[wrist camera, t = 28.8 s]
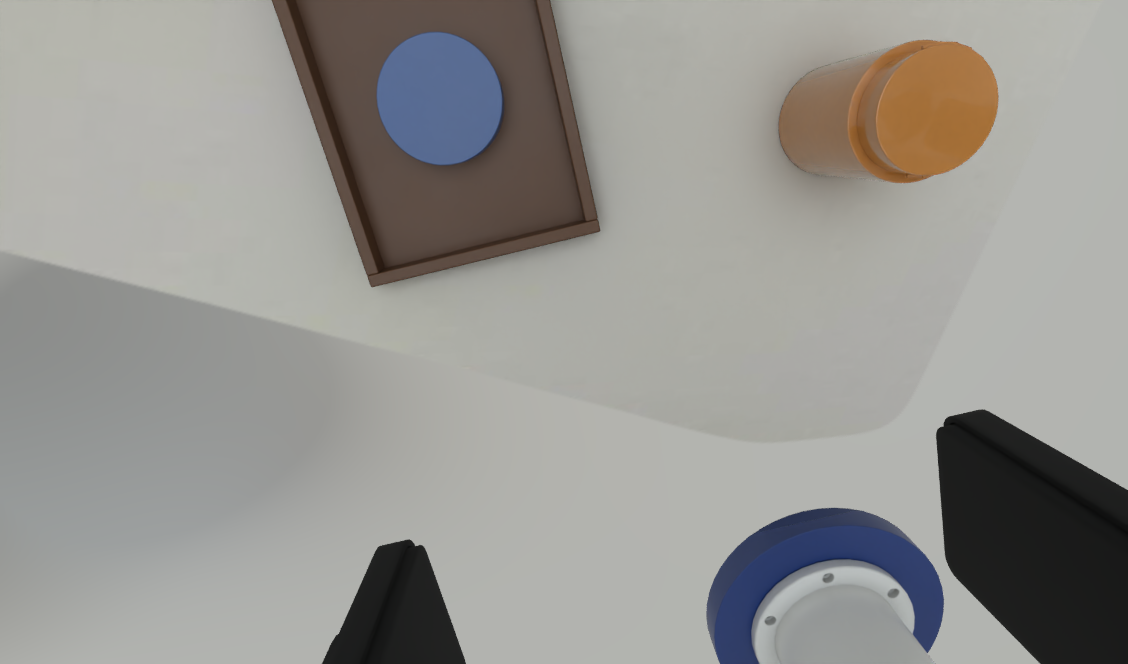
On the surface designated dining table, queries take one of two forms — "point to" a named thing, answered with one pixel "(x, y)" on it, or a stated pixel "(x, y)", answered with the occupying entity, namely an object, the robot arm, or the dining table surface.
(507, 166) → the tray
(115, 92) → the dining table surface
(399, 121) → the lid
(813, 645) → the robot arm
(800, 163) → the jar
